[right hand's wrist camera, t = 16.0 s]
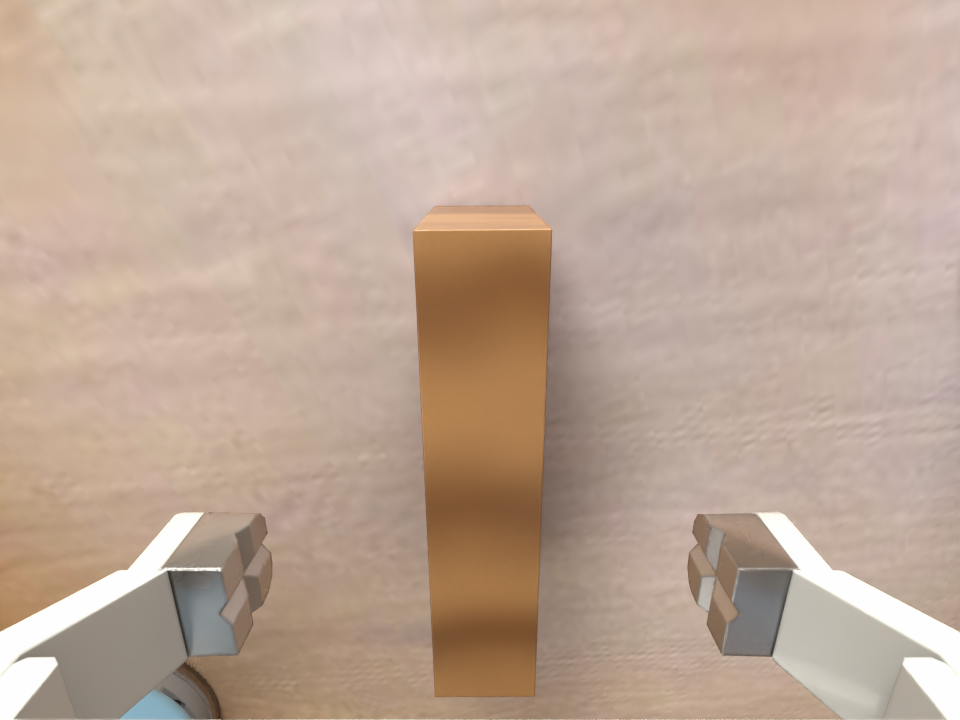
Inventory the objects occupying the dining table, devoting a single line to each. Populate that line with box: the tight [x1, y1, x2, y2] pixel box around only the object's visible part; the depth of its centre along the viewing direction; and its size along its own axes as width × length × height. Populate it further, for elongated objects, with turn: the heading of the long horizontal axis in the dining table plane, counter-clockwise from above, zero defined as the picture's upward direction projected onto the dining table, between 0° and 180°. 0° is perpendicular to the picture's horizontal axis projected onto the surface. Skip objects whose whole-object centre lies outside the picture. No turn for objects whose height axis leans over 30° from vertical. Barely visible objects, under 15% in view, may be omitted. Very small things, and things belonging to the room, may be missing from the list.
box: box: [413, 206, 552, 697], centre depth 35 cm, size 28×6×12 cm, turn 0°
